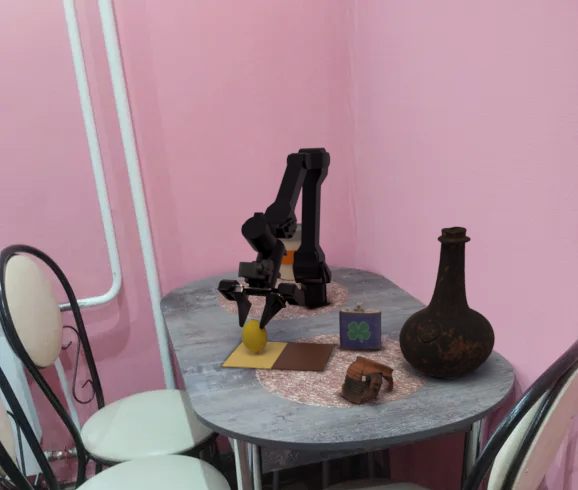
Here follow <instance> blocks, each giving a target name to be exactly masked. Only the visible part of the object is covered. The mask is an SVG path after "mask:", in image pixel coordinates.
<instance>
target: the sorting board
mask: <svg viewBox="0 0 578 490" xmlns="http://www.w3.org/2000/svg"><path fill="white" fill-rule="evenodd" d="M335 347H336V344H335V343H315V342H312V343H311V342H284V341H267V343H266V345H265V347H264V348H263V349H262V350H260V351H259V352H258V353H254V352H253V351H250V350H248V349H247V348H246V347H245V345H244V343H243V340H242V341H241V343H240V344H239V345H237V347H236V348H235V350H234V351H233V352H232V353H231V355H230V356H228V358H227V359H226V360H225V361H224V362H223V364H222V365H221V367H222V368H239V369H241V368H242V369H260V370H261V369H262V370H283V371H284V370H285V371H286V370H287V371H304V372H305V371H306V372H307V371H308V372H323V371H324V369H325V367H326V365H327V363H328V362H329V359H330V356H331V354H332V352H333V350H334V348H335Z"/></svg>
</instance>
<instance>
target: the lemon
mask: <svg viewBox="0 0 578 490" xmlns="http://www.w3.org/2000/svg"><path fill="white" fill-rule="evenodd" d="M259 325H260V320H256V319H254V318H253V319H251V320H249V321H246V322H245V324H244V326H243V328H242V331H241V339H242V341H243V343H244V345H245V347H246V348H247V349H248V350H250V351H253V352H254V353H258V352H259V351H260V350H262V349H263V348H264V347H265V345H266V343H267V342H268V332H267V328H266V326H265V327H264V328H263V329H260V328H259Z"/></svg>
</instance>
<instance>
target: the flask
mask: <svg viewBox="0 0 578 490" xmlns="http://www.w3.org/2000/svg"><path fill="white" fill-rule="evenodd" d="M364 303H365V302H362V301H359V302H356V306H355V307H352V306H351V307H349V306H346V307H344V308H340V309H339V311H338V321H339V322H338V324H339V327H338V328H339V348H340V350H343V351H350V352H351V351H352V352H376V351H381V349H382V311H381V309H379V308H373V309H372V308H366V309H365V308H364V307H363V306H364Z"/></svg>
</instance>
